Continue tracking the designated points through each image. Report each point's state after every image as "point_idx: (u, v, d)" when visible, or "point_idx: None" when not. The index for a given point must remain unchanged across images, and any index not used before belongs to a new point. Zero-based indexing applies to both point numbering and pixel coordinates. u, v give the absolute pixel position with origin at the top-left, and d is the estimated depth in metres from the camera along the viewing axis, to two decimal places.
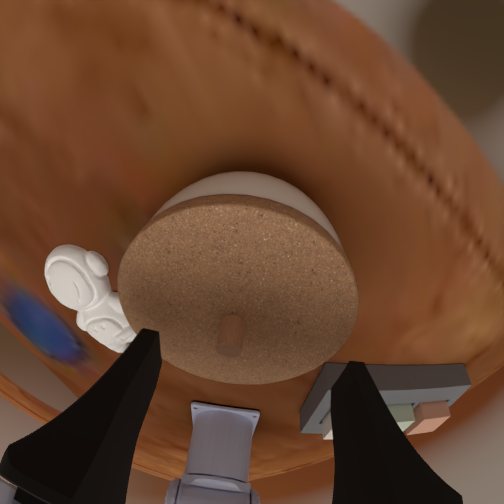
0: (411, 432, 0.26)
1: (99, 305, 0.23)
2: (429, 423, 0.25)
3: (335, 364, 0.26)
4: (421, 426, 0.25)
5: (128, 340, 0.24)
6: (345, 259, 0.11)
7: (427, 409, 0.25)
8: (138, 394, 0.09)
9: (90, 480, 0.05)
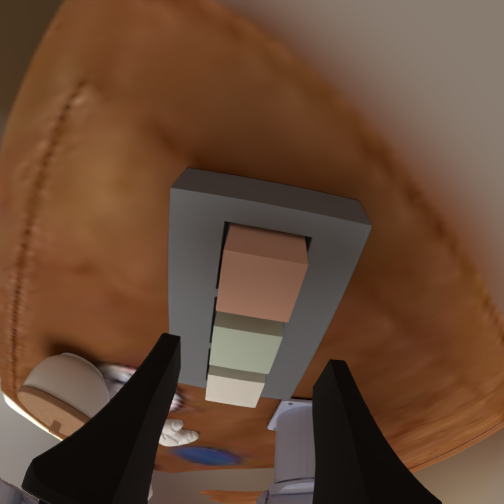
0: (279, 316, 0.16)
1: None
2: (240, 293, 0.15)
3: None
4: (256, 304, 0.15)
5: (169, 435, 0.34)
6: (19, 391, 0.22)
7: None
8: (161, 400, 0.09)
9: (121, 491, 0.05)
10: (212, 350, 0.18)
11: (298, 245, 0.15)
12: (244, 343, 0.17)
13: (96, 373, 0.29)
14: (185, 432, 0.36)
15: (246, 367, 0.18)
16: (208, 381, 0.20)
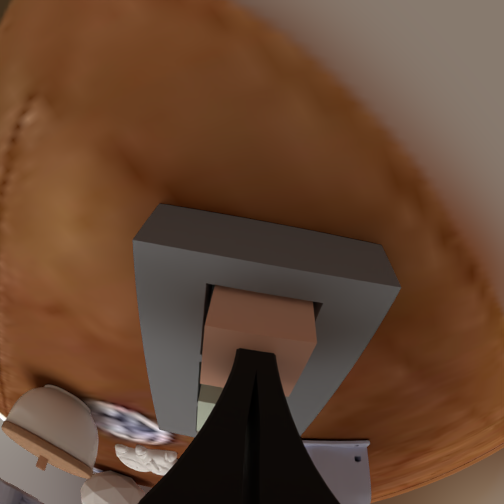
0: None
1: None
2: (229, 369, 0.11)
3: None
4: None
5: (163, 466, 0.31)
6: (3, 426, 0.18)
7: None
8: None
9: None
10: (198, 420, 0.14)
11: (304, 311, 0.11)
12: None
13: (81, 408, 0.25)
14: None
15: None
16: None
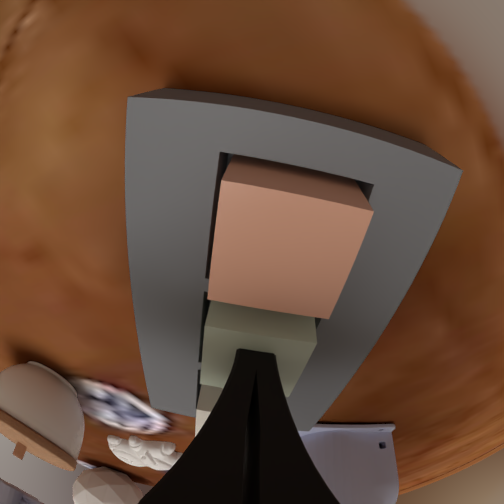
0: (315, 309, 0.09)
1: None
2: (251, 267, 0.08)
3: None
4: (277, 288, 0.09)
5: (160, 459, 0.27)
6: None
7: None
8: None
9: None
10: (204, 364, 0.11)
11: (348, 185, 0.08)
12: None
13: (65, 388, 0.22)
14: (179, 454, 0.29)
15: None
16: (197, 417, 0.13)
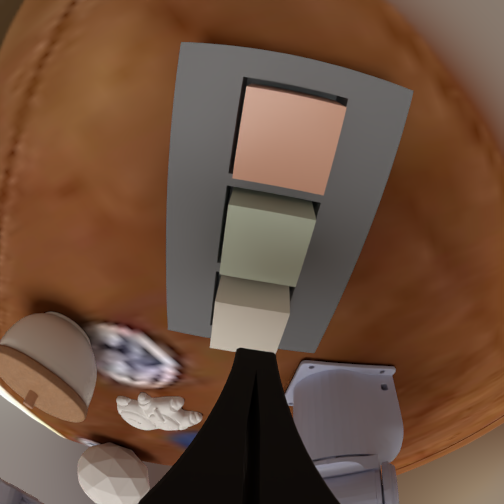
0: (312, 185, 0.12)
1: (147, 414, 0.32)
2: (265, 148, 0.12)
3: None
4: (283, 166, 0.12)
5: (168, 416, 0.31)
6: None
7: None
8: None
9: None
10: (224, 248, 0.14)
11: (330, 100, 0.12)
12: (266, 233, 0.14)
13: (81, 334, 0.25)
14: (187, 413, 0.33)
15: (267, 276, 0.15)
16: (215, 314, 0.16)
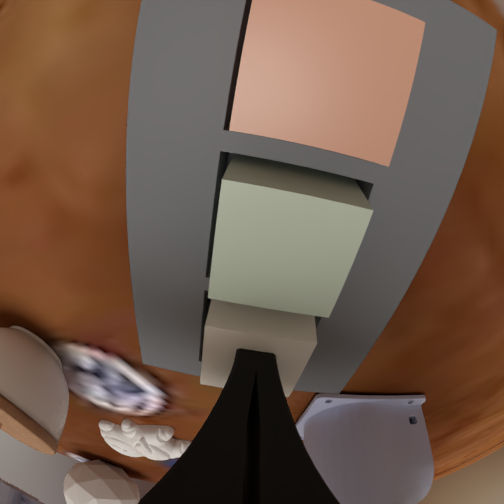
0: (371, 147, 0.06)
1: None
2: (291, 76, 0.06)
3: None
4: (323, 109, 0.06)
5: (156, 446, 0.25)
6: None
7: None
8: None
9: None
10: (215, 256, 0.08)
11: None
12: (288, 231, 0.08)
13: (48, 355, 0.19)
14: (178, 442, 0.27)
15: (285, 302, 0.09)
16: (205, 342, 0.10)
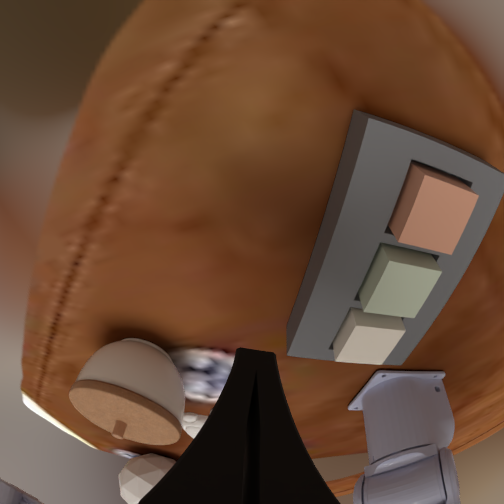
0: (446, 248, 0.15)
1: None
2: (425, 222, 0.14)
3: (289, 319, 0.24)
4: (433, 234, 0.14)
5: None
6: (75, 387, 0.20)
7: (395, 218, 0.15)
8: None
9: None
10: (375, 292, 0.17)
11: (461, 182, 0.14)
12: (408, 281, 0.16)
13: (169, 360, 0.27)
14: None
15: (398, 312, 0.17)
16: (351, 335, 0.19)
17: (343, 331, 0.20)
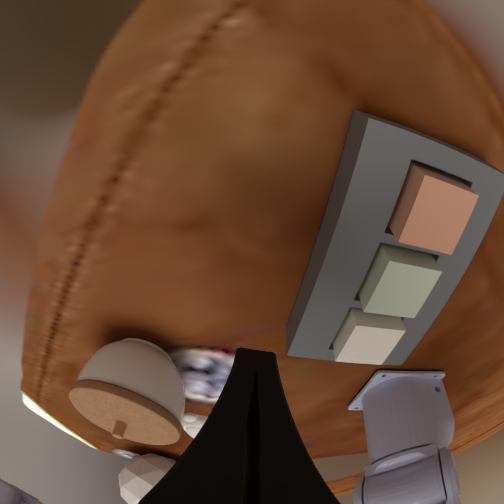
0: (446, 248, 0.15)
1: None
2: (425, 222, 0.14)
3: (289, 319, 0.24)
4: (433, 234, 0.14)
5: None
6: (75, 387, 0.20)
7: (395, 218, 0.15)
8: None
9: None
10: (375, 292, 0.17)
11: (461, 182, 0.14)
12: (408, 281, 0.16)
13: (169, 360, 0.27)
14: None
15: (398, 312, 0.17)
16: (351, 335, 0.19)
17: (343, 331, 0.20)
